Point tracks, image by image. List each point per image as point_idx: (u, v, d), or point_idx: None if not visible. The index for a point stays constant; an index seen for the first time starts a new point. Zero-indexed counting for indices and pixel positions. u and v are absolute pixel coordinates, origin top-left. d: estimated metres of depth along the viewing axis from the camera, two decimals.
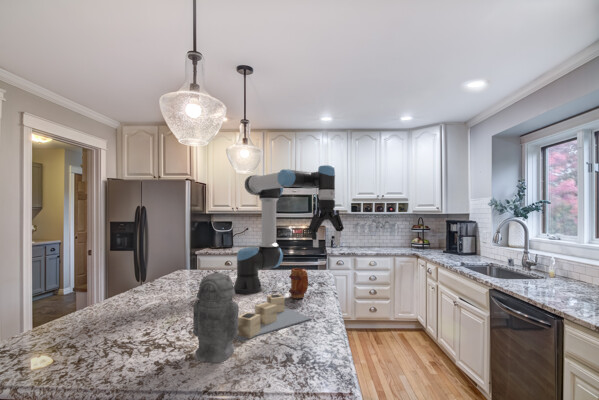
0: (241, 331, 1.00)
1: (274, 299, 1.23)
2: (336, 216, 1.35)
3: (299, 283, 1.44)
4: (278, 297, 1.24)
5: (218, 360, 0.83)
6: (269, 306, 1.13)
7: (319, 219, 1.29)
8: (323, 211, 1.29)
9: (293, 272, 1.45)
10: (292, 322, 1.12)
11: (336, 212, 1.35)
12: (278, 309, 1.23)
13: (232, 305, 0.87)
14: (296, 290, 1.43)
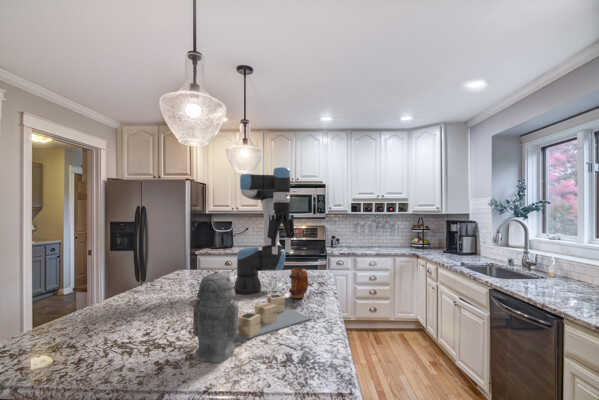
0: (241, 331, 1.00)
1: (274, 299, 1.23)
2: (290, 221, 1.33)
3: (299, 283, 1.44)
4: (278, 297, 1.24)
5: (218, 360, 0.83)
6: (269, 306, 1.13)
7: (276, 224, 1.27)
8: (278, 214, 1.27)
9: (293, 272, 1.45)
10: (292, 322, 1.12)
11: (291, 216, 1.33)
12: (278, 309, 1.23)
13: (232, 305, 0.87)
14: (296, 290, 1.43)
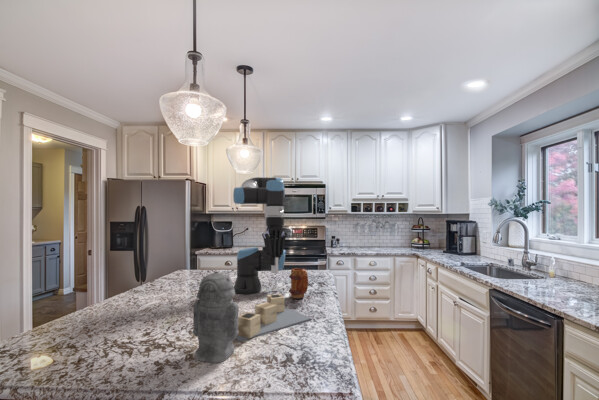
0: (241, 331, 1.00)
1: (274, 299, 1.23)
2: (282, 238, 1.25)
3: (299, 283, 1.44)
4: (278, 297, 1.24)
5: (218, 360, 0.83)
6: (269, 306, 1.13)
7: (271, 241, 1.21)
8: (271, 230, 1.19)
9: (293, 272, 1.45)
10: (292, 322, 1.12)
11: (284, 234, 1.25)
12: (278, 309, 1.23)
13: (232, 305, 0.87)
14: (296, 290, 1.43)
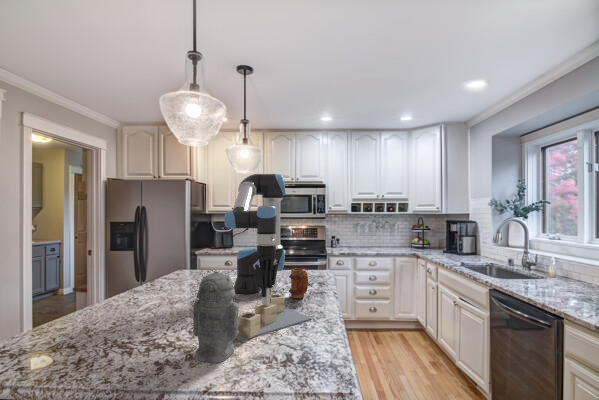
0: (241, 331, 1.00)
1: (274, 299, 1.23)
2: (274, 266, 1.17)
3: (299, 283, 1.44)
4: (278, 297, 1.24)
5: (218, 360, 0.83)
6: (269, 306, 1.13)
7: (262, 271, 1.13)
8: (262, 259, 1.11)
9: (293, 272, 1.45)
10: (292, 322, 1.12)
11: (276, 262, 1.18)
12: (278, 309, 1.23)
13: (232, 305, 0.87)
14: (296, 290, 1.43)
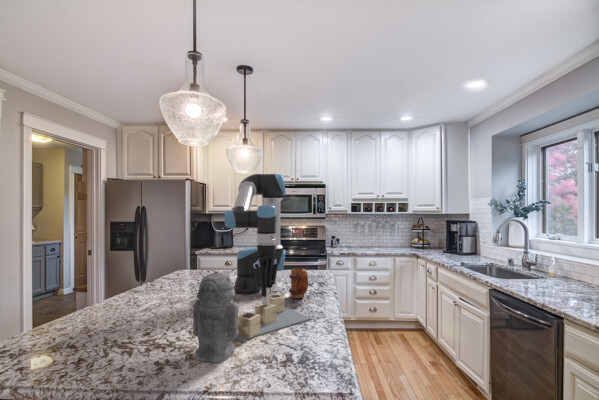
0: (241, 331, 1.00)
1: (274, 299, 1.23)
2: (274, 266, 1.17)
3: (299, 283, 1.44)
4: (278, 297, 1.24)
5: (218, 360, 0.83)
6: (269, 306, 1.13)
7: (262, 271, 1.13)
8: (262, 259, 1.12)
9: (293, 272, 1.45)
10: (292, 322, 1.12)
11: (276, 261, 1.18)
12: (278, 309, 1.23)
13: (232, 305, 0.87)
14: (296, 290, 1.43)
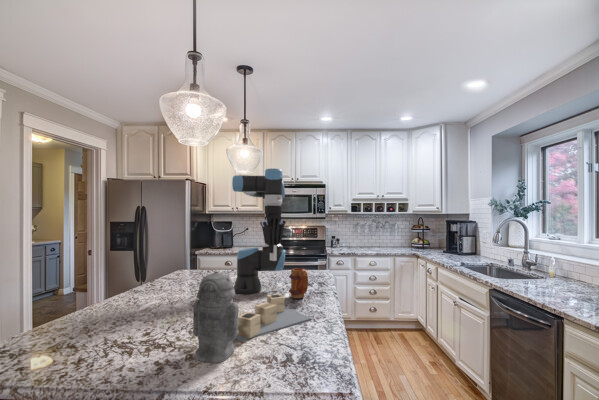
0: (241, 331, 1.00)
1: (274, 299, 1.23)
2: (280, 226, 1.26)
3: (299, 283, 1.44)
4: (278, 297, 1.24)
5: (218, 360, 0.83)
6: (269, 306, 1.13)
7: (269, 229, 1.22)
8: (269, 218, 1.20)
9: (293, 272, 1.45)
10: (292, 322, 1.12)
11: (282, 222, 1.26)
12: (278, 309, 1.23)
13: (232, 305, 0.87)
14: (296, 290, 1.43)
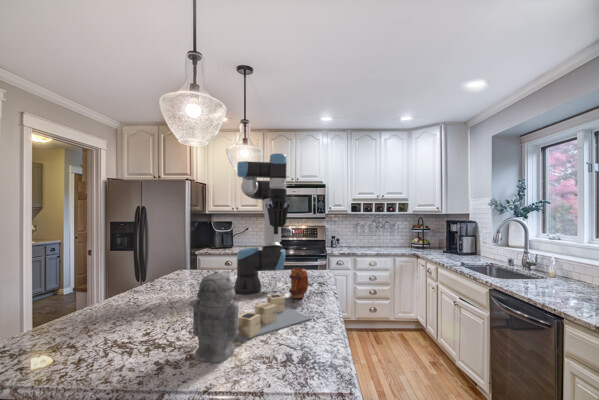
0: (241, 331, 1.00)
1: (274, 299, 1.23)
2: (284, 209, 1.31)
3: (299, 283, 1.44)
4: (278, 297, 1.24)
5: (218, 360, 0.83)
6: (269, 306, 1.13)
7: (274, 211, 1.27)
8: (274, 200, 1.26)
9: (293, 272, 1.45)
10: (292, 322, 1.12)
11: (286, 205, 1.32)
12: (278, 309, 1.23)
13: (232, 305, 0.87)
14: (296, 290, 1.43)
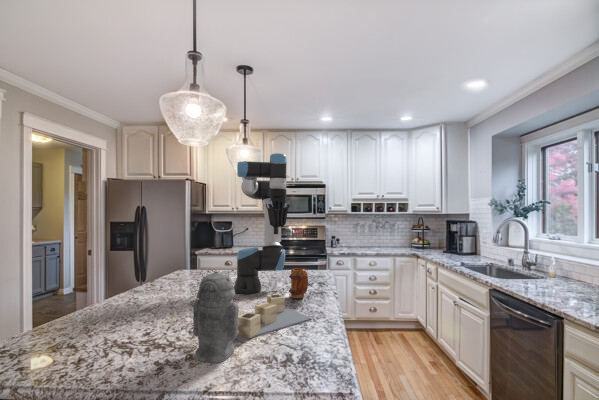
0: (241, 331, 1.00)
1: (274, 299, 1.23)
2: (284, 209, 1.31)
3: (299, 283, 1.44)
4: (278, 297, 1.24)
5: (218, 360, 0.83)
6: (269, 306, 1.13)
7: (274, 211, 1.27)
8: (274, 200, 1.26)
9: (293, 272, 1.45)
10: (292, 322, 1.12)
11: (286, 205, 1.32)
12: (278, 309, 1.23)
13: (232, 305, 0.87)
14: (296, 290, 1.43)
